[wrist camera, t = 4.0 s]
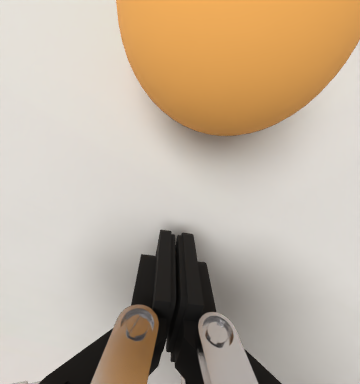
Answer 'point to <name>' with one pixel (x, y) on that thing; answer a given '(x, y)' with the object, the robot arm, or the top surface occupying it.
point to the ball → (236, 57)
